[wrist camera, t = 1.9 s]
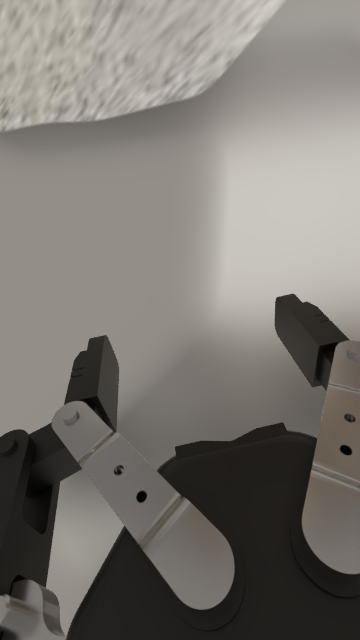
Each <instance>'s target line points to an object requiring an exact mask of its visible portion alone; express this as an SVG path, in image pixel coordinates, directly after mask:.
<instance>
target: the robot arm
mask: <svg viewBox="0 0 360 640" xmlns="http://www.w3.org/2000/svg"><path fill="white" fill-rule="evenodd" d="M275 329H276V332H277V335H278V337H279V338H280V340H281V341H282V343H283V344H284V346H285V347H286V349H287V350H288V352H289V353H290V354H291V356H292V358H293V359H294V361H295V362H296V363H297V365H298V367H299V368H300V369H301V371H302V373H303V374H304V375H305V377H306V378H307V380H308V382H309V383H310V385H311V386H312V387H316V386H320V385H322V386H323V387H324V389H325V390H326V396H325V401H324V406H323V411H322V416H321V421H320V426H319V431H318V436H317V438H315V437H313V436H310V435H308V434H305V433H301V432H296V431H287V430H286V428H285V425H284V423H279V424H274V425H269V426H265V427H261V428H256V429H255V430H252V431H251V432H249V433H247V434H245V435H243V436H241V437H239V438H237V439H235V440H233V441H199V442H194V443H190V444H185V445H181V446H176V447H175V451H176V456H174V457H172V458H170V459H169V460H168V461H166V462H165V463H164V464H163V465H161V466H160V467H159V468H158V469H157V471H156V470H155V469H154V468H153V467H152V466H151V465H150V464H149V463H148V462H147V461H146V460H145V459H144V458H143V457H142V456H141V455H140V454H139V453H138V452H137V451H136V450H135V449H134V448H133V447H132V446H131V445H130V444H129V443H128V442H127V440H126V439H124V437H123V436H122V435H121V434H120V433H118V432H117V431H116V425H117V404H118V382H119V366H118V362H117V359H116V356H115V354H114V351H113V349H112V346H111V344H110V342H109V339H108V337H107V336H106V335H105V336H100V337H95V338H91V339H89V343H88V348H87V351H82V352H80V353H79V355H78V356H77V357H76V359H75V360H74V364H73V368H72V372H71V379H70V381H69V385H68V390H67V394H66V399H65V403H64V406H62V407H61V408H60V409H59V410H58V411H57V412H56V413H55V415H54V416H53V419H52V422H51V423H50V424H48V425H47V426H45V427H43V428H41V429H39V430H37V431H35V432H33V433H31V434H29V435H28V433H27V432H26V431H24V430H13V431H10V432H8V433H6V434H4V435H3V436H2V437H0V640H360V342H359V341H350V340H349V339H348V338H347V337H346V336H345V335H344V334H343V333H342V332H341V331H340V330H339V329H338V328H337V327H336V326H335V325H334V324H333V323H332V321H330V320H329V318H328V317H326V315H324V314H323V312H322V311H321V310H320V309H319V308H318V307H317V306H315V305H313V304H310V303H308V302H304V303H302V302H301V301H300V300H299V299H298V297H296V295H295V294H290V295H285V296H281V297H277V298H276V302H275ZM81 469H83V470H84V472H85V473H86V474H87V476H88V477H89V478H90V480H91V481H92V482H93V484H94V485H95V486H96V488H97V489H98V490H99V492H100V493H101V494H102V496H103V497H104V498H105V500H106V501H107V503H109V505H110V506H111V508H112V509H113V511H114V512H115V513H116V515H117V516H118V517H119V519H120V520H121V521H122V523H123V524H124V527H123V529H122V531H121V532H120V534H119V536H118V538H117V540H116V542H115V543H114V545H113V547H112V549H111V550H110V552H109V554H108V556H107V558H106V559H105V561H104V563H103V565H102V567H101V569H100V570H99V572H98V574H97V576H96V577H95V579H94V581H93V583H92V585H91V587H90V588H89V590H88V592H87V594H86V595H85V597H84V599H83V601H82V603H81V604H80V606H79V608H78V610H77V612H76V614H75V616H74V618H73V620H72V623H71V625H70V628H69V631H68V634H67V636H65V634H64V632H63V631H62V628H61V624H60V607H59V601H58V598H57V597H56V595H55V594H54V593H53V592H52V591H50V590H49V589H47V588H46V582H47V575H48V567H49V560H50V552H51V545H52V537H53V530H54V523H55V515H56V509H57V501H58V494H59V486H60V481H62V480H63V479H65V478H67V477H69V476H70V475H72V474H74V473H76V472H78V471H79V470H81Z"/></svg>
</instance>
